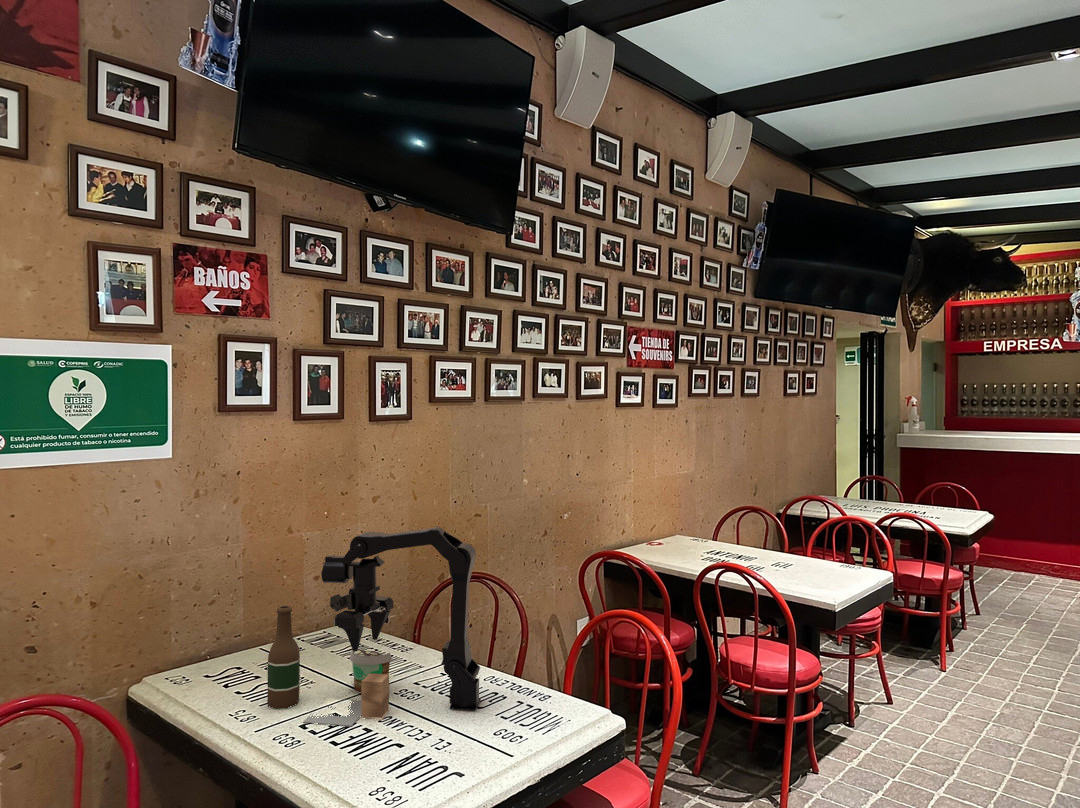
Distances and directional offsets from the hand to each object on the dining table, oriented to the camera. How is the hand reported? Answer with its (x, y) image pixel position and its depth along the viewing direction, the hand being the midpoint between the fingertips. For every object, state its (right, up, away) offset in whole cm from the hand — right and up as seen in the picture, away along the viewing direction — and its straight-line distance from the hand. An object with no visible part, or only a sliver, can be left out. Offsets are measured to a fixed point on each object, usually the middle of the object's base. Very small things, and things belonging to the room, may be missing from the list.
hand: (365, 645), depth 184 cm
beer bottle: (-20, -14, -2) cm, 24 cm away
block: (+4, -14, -9) cm, 17 cm away
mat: (-4, -14, -7) cm, 16 cm away
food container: (-1, -14, +6) cm, 16 cm away
